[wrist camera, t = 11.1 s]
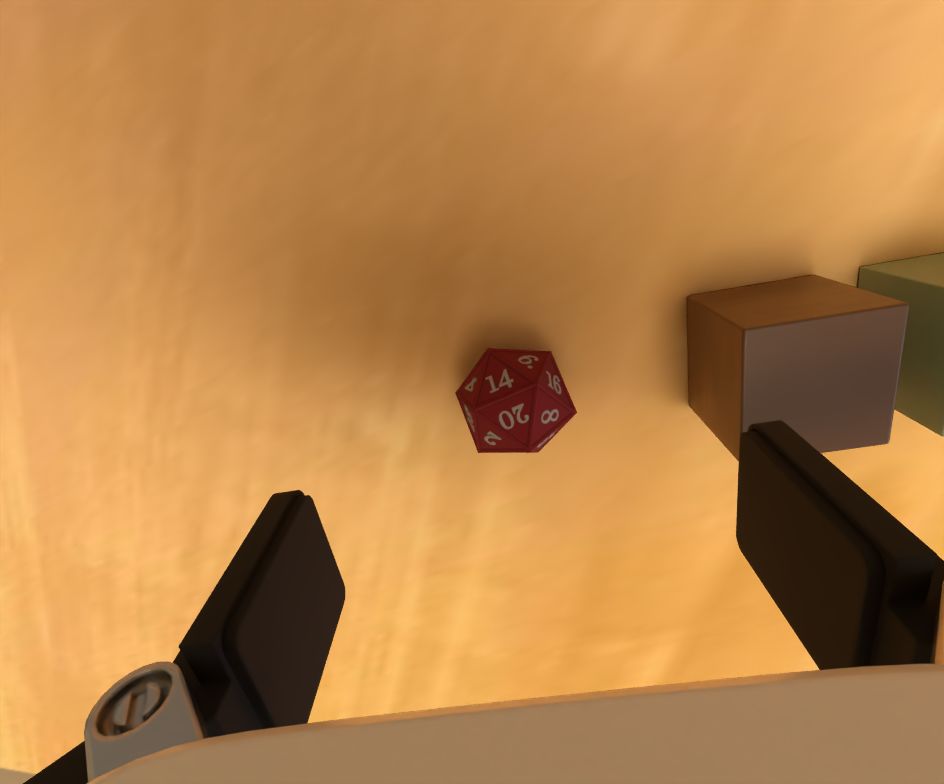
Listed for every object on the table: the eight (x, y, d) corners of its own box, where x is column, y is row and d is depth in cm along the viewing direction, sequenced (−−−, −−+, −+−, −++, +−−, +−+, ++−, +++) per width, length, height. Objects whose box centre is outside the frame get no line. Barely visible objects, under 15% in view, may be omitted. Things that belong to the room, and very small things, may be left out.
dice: (533, 310, 19) (545, 343, 15) (577, 410, 21) (597, 461, 17) (443, 351, 20) (433, 392, 16) (491, 444, 21) (493, 501, 18)
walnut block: (686, 295, 19) (743, 329, 15) (815, 273, 18) (911, 302, 14) (688, 406, 20) (740, 465, 16) (806, 388, 20) (890, 444, 16)
